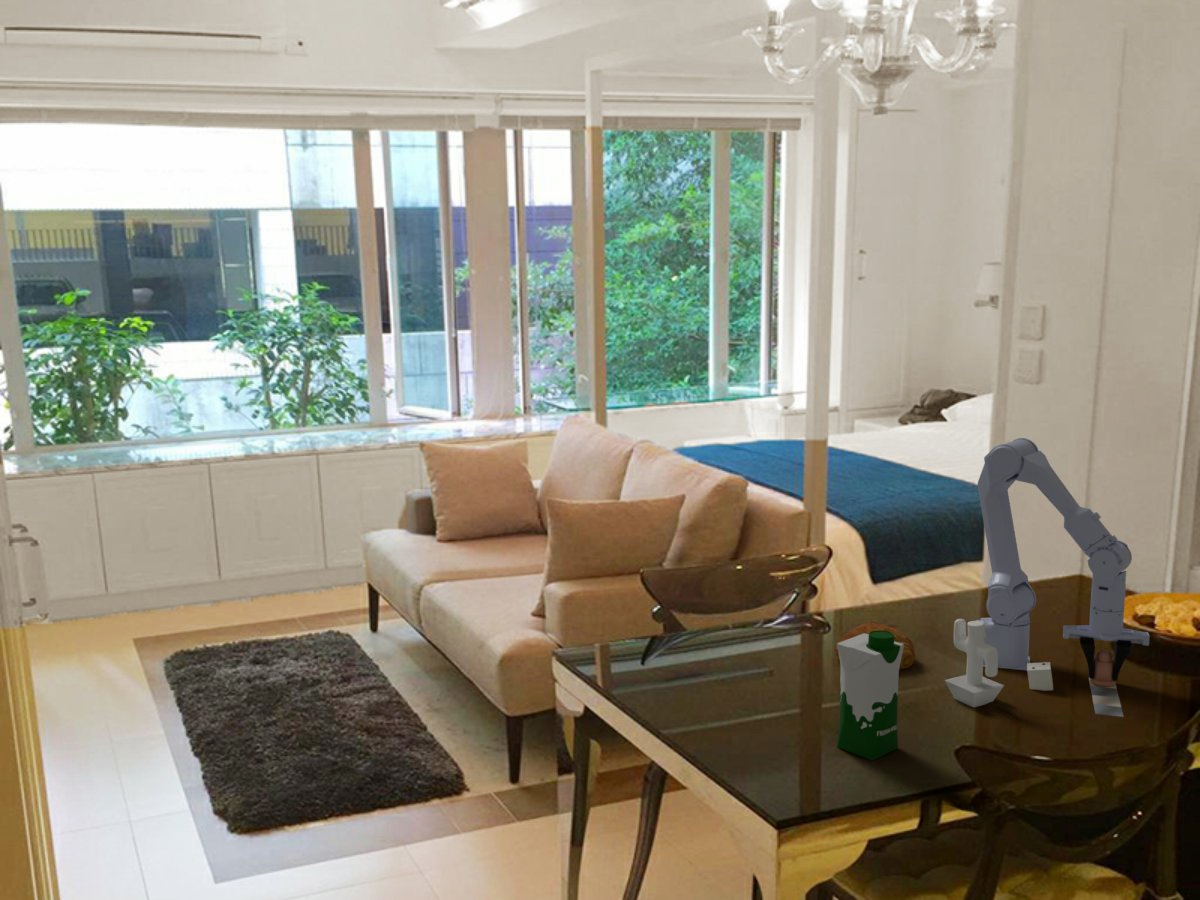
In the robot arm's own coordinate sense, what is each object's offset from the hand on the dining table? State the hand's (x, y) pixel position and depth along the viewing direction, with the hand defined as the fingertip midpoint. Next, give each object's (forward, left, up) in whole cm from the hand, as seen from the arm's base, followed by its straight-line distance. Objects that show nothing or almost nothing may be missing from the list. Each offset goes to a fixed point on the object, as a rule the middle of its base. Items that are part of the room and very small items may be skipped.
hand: (1102, 677), depth 217 cm
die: (-9, -5, +1) cm, 10 cm away
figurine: (-22, -15, -2) cm, 27 cm away
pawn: (0, 0, -1) cm, 1 cm away
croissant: (-42, +2, -2) cm, 42 cm away
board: (-3, -6, -2) cm, 8 cm away
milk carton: (-38, -40, -2) cm, 56 cm away
